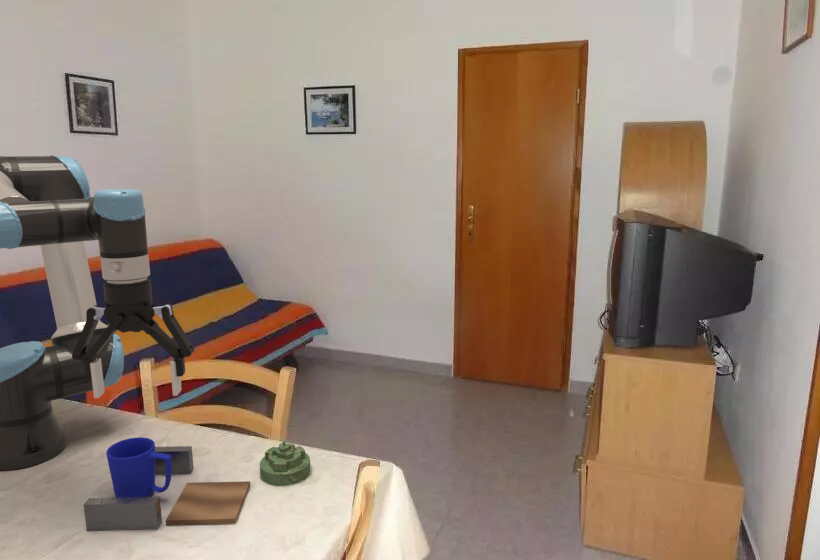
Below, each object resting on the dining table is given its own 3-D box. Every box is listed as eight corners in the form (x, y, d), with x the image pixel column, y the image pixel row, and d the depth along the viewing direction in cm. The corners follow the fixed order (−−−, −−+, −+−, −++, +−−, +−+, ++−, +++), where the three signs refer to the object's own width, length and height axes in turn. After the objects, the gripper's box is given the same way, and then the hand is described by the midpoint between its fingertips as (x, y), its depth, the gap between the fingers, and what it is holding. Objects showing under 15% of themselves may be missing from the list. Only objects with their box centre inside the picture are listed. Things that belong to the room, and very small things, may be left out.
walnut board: (187, 487, 115) (187, 482, 115) (250, 485, 116) (250, 481, 116) (165, 525, 104) (165, 520, 103) (235, 523, 104) (235, 518, 104)
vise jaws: (139, 462, 125) (137, 440, 123) (197, 461, 125) (196, 439, 124) (86, 530, 102) (83, 504, 101) (157, 529, 103) (155, 503, 102)
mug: (160, 513, 107) (155, 463, 105) (101, 505, 109) (95, 455, 107) (186, 488, 115) (182, 441, 113) (130, 481, 117) (125, 435, 115)
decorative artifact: (253, 485, 117) (302, 488, 116) (251, 452, 115) (301, 455, 114) (269, 459, 126) (315, 461, 125) (268, 428, 125) (314, 431, 124)
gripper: (40, 285, 98) (56, 404, 103) (195, 282, 101) (204, 400, 105) (62, 276, 106) (76, 388, 110) (206, 273, 108) (214, 383, 112)
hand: (138, 394), depth 108 cm, fingers open, 13 cm apart
